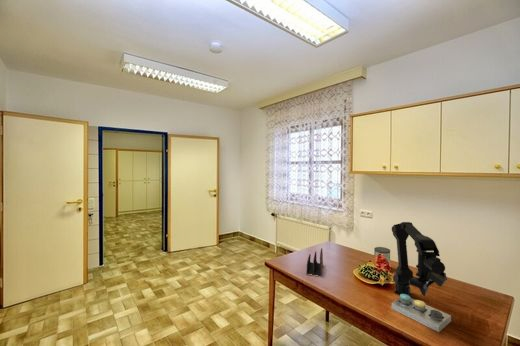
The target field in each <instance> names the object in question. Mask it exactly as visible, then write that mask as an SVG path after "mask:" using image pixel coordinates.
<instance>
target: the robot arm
mask: <svg viewBox="0 0 520 346" xmlns="http://www.w3.org/2000/svg"><path fill="white" fill-rule="evenodd" d="M391 232H392V235H393V237H394V238H395V240H396V249H397V250H396V251H397V259H398V260H397V263H398V266H397V267H396V269H395V274H394V275H393V276H392V279H393V280H392V281H393V282H394V283H395V291H393V293H395V294H398V295H399V296H400V294H406V295H409V296H410V295H412V293H411V287H410V286H413V287H416V288H418V289H419V291H420V293H421V296H424V297H426V295H427V293H428V290H429V288H430V286H431V285H433V284H436V285H437V286H438V287H443V286H444V285H445V284H446V281H448V277H447V274H446V272H445V271H446V265H445V264H444V262H442V261H441V258H439V257H440V250H439V248H438V246H437V244H436V242H435V241H434V239H433V238H431V237H429V236H427V235H424V234H422V233H421V231H420V230H418V229H417V227H415V226H414V224H413V222H410V221H402V222H400V223H396V224H393V226H391ZM409 237H410V238H411V239H412V240H413V241H414V246H415V248H416V252H417V264H416V265H415V268H417V272H416V273H415V276H414V271H413V270H412V269H411V268H410V267H409V259H408V258H409V257H408V249H407V247H408V245H407V240H408V238H409Z"/></svg>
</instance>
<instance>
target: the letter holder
mask: <svg viewBox="0 0 520 346" xmlns="http://www.w3.org/2000/svg"><path fill="white" fill-rule="evenodd" d="M313 255H314V256H313V260H312V261H313V262H311V254H310V253H309V254H308V258H307V263H306V275H307V274H312V275H318V276H317V277H319V276H321V277H322V274H323V267H324V261H323V260H324V256H323V248H322V247H321V248H320V252H319V262H318V261H317V251H315V252H314V254H313ZM312 275H311V276H312Z"/></svg>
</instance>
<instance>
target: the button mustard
mask: <svg viewBox="0 0 520 346" xmlns="http://www.w3.org/2000/svg"><path fill="white" fill-rule="evenodd" d="M414 300H415V301H414V304H415V310H417V311H419V312H421V313H424V312H425V307H426V305H427V304H426V302H424V301H423V300H419V299H414Z"/></svg>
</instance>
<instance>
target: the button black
mask: <svg viewBox="0 0 520 346" xmlns="http://www.w3.org/2000/svg"><path fill="white" fill-rule="evenodd" d="M439 311H440V310H439ZM439 311H436V310H431V311H430V314H431V317H432V318H434V319H437V320H439V321H441V320H442V313H441V312H439Z"/></svg>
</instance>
